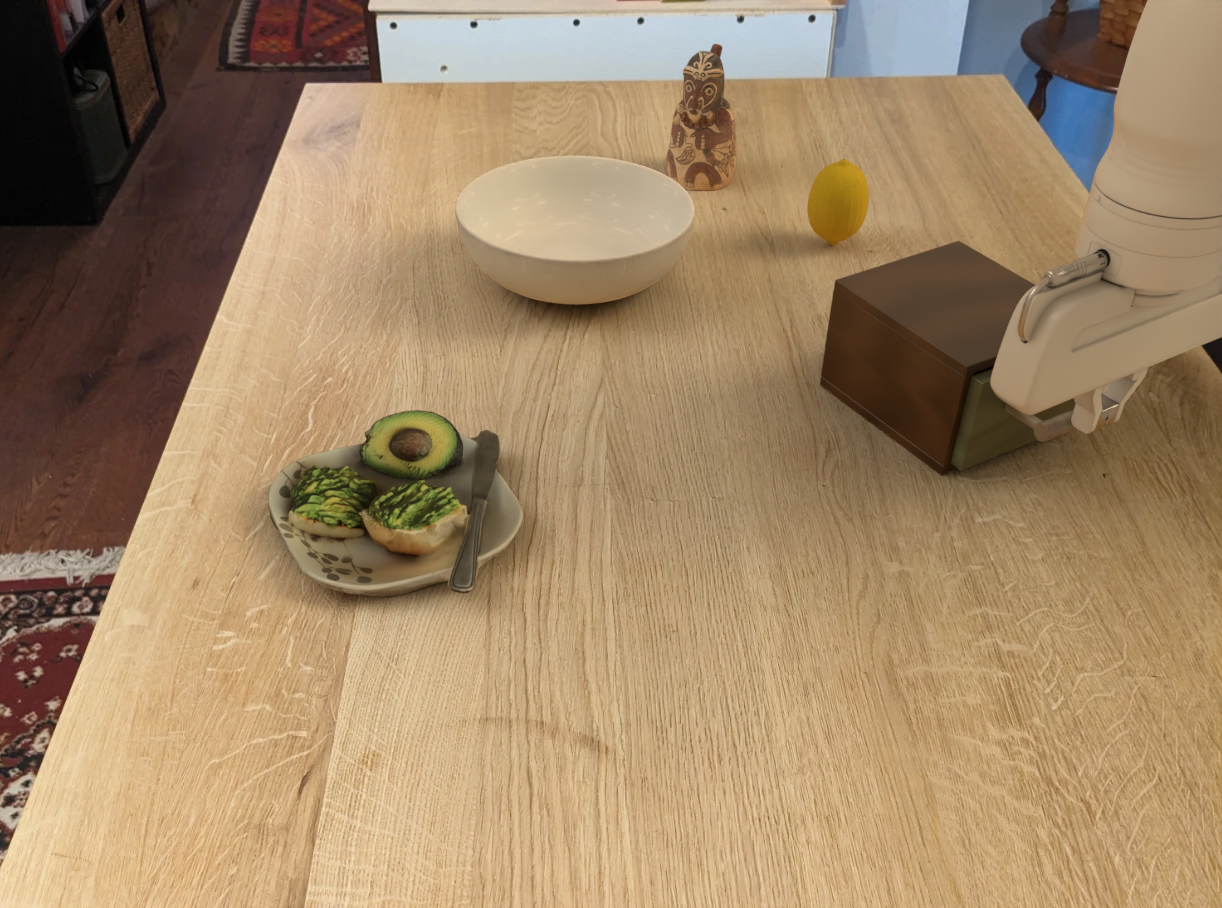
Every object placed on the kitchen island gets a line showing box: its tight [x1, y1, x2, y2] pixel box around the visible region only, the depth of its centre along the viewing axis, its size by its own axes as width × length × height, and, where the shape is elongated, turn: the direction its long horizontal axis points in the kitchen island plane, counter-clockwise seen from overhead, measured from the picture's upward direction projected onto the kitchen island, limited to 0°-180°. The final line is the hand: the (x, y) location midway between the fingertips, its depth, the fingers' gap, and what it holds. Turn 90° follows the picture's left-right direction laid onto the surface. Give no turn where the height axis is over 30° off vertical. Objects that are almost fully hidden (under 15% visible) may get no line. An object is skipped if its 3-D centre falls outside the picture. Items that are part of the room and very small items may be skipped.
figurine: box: [665, 43, 738, 191], centre depth 127 cm, size 7×7×12 cm
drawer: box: [951, 369, 1078, 471], centre depth 96 cm, size 18×11×7 cm, turn 31°
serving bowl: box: [454, 155, 696, 305], centre depth 113 cm, size 21×21×7 cm
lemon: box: [807, 158, 870, 246], centre depth 118 cm, size 6×6×8 cm
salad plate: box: [267, 409, 524, 598], centre depth 89 cm, size 19×18×5 cm
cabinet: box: [819, 240, 1036, 476], centre depth 98 cm, size 15×13×9 cm
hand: (1093, 424), depth 89 cm, fingers closed
